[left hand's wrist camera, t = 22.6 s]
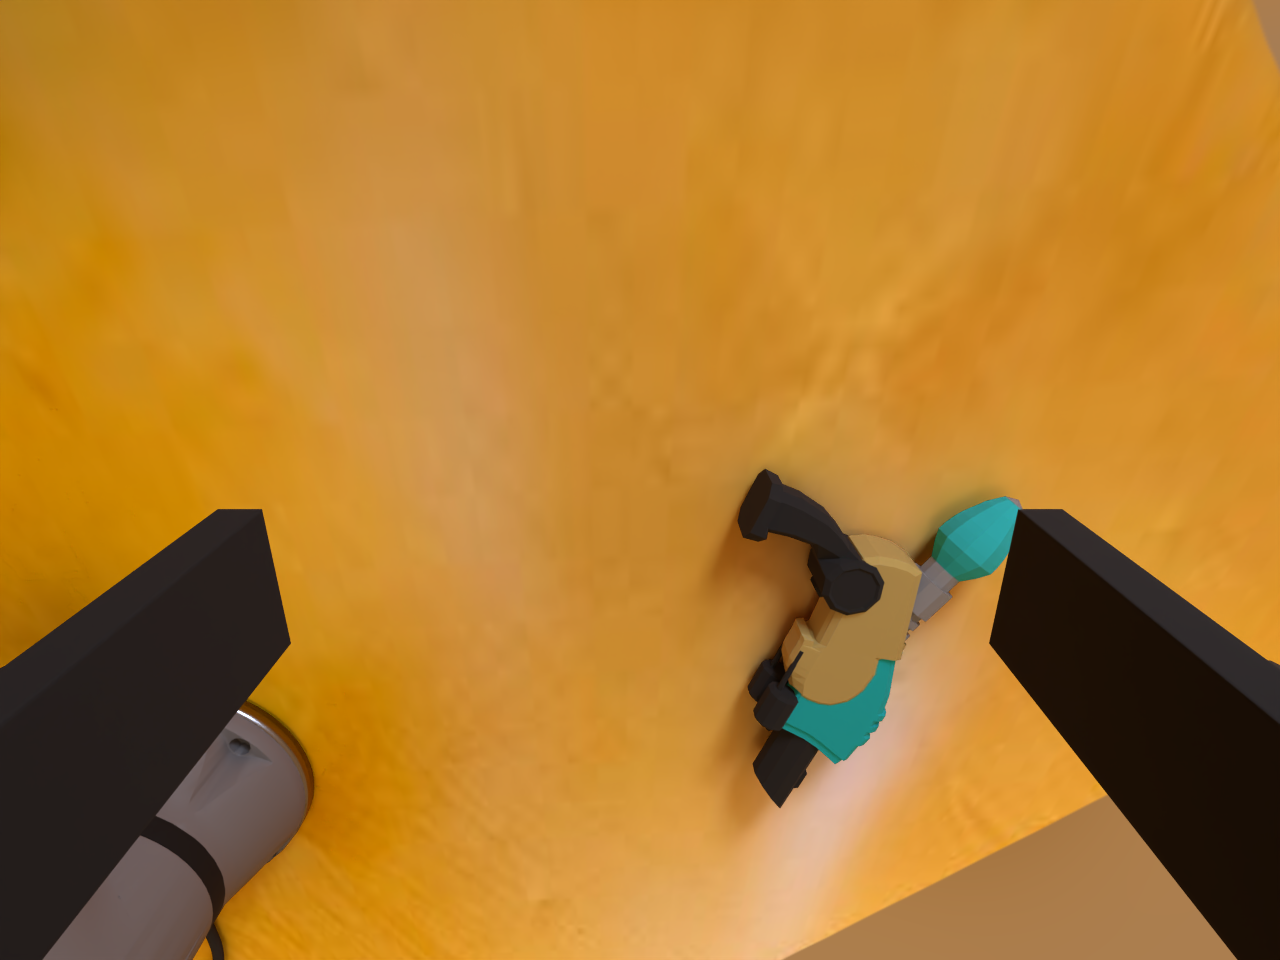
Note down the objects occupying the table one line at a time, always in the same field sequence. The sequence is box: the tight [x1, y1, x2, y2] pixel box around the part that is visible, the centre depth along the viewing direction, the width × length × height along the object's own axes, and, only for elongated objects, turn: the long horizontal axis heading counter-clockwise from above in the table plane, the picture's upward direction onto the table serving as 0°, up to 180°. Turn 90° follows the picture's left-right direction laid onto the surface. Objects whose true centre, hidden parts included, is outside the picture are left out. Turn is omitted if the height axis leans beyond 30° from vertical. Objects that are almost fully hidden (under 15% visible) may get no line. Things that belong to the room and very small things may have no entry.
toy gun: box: [738, 469, 1022, 808], centre depth 44 cm, size 4×26×15 cm
